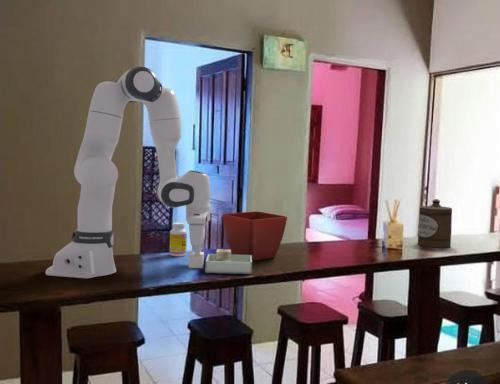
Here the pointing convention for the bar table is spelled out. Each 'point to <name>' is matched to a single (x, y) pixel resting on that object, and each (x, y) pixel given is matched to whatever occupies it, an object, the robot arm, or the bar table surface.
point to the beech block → (223, 255)
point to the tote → (229, 264)
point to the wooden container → (435, 225)
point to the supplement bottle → (178, 240)
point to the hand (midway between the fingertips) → (198, 253)
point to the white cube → (196, 260)
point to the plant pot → (254, 233)
